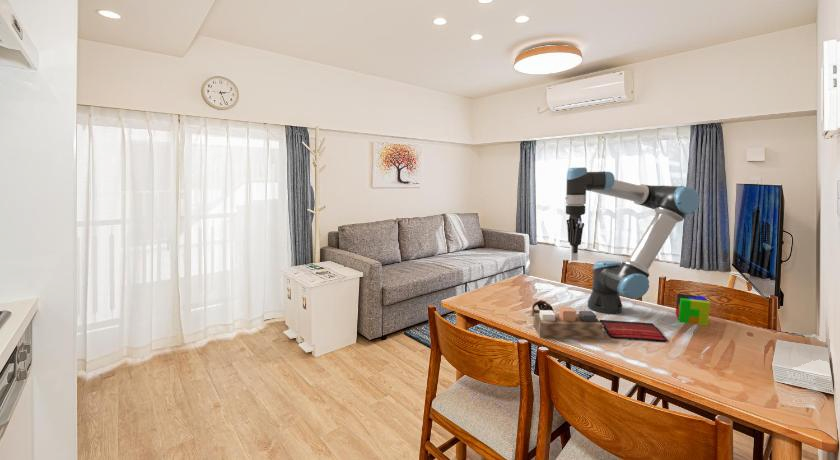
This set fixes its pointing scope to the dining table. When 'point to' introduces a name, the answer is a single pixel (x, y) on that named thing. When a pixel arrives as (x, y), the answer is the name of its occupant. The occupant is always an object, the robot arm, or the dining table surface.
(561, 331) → the key block
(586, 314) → the dark grey block
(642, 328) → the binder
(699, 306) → the puzzle toy
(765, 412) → the dining table surface
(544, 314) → the white block
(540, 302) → the pottery mug
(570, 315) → the salmon orange block
